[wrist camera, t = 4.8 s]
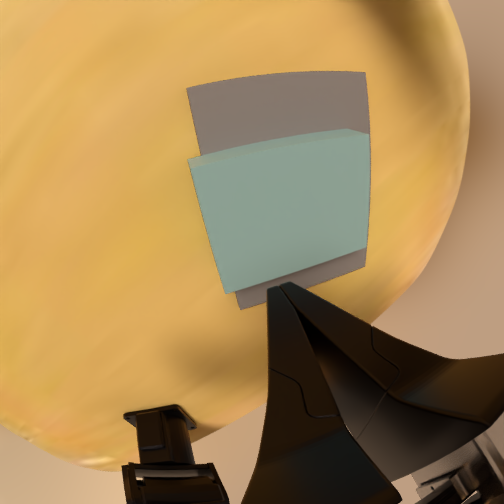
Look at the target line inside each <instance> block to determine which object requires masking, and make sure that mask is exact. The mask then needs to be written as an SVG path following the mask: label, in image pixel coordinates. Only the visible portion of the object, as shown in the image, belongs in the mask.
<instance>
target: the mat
mask: <svg viewBox="0 0 504 504" xmlns="http://www.w3.org/2000/svg"><path fill="white" fill-rule="evenodd" d="M186 89H187V94H188V98H189V103H190V108H191V112H192V117H193V122H194V126H195V131H196V135H197V140H198V144H199V149H200V153H201V156H202V155H206V154H210V153H214V152H218V151H222V150H226V149H230V148H234V147H239V146H243V145H248V144H253V143H258V142H263V141H268V140H273V139H278V138H284V137H290V136H296V135H302V134H309V133H316V132H323V131H331V130H340V129H351V130H355V131H359V132H362V133H366V134H369V143H370V121H369V105H368V93H367V83H366V74H365V72H349V71H309V72H289V73H276V74H266V75H257V76H249V77H242V78H235V79H229V80H223V81H218V82H212V83H207V84H203V85H198V86H193V87H189V88H186ZM370 183H371V148H370ZM369 211H370V194H369ZM368 227H369V218H368ZM367 240H368V233H367ZM366 251H367V246H366V248H363V249H360V250H357V251H354V252H352V253H349V254H346V255H343V256H340V257H337V258H334V259H332V260H329V261H326V262H323V263H320V264H317V265H314V266H311V267H308V268H305V269H302V270H299V271H296V272H293V273H290V274H287V275H284V276H281V277H278V278H275V279H272V280H269V281H266V282H263V283H259V284H256V285H253V286H250V287H247V288H244V289H240V290H237V291H235V293H236V297H237V301H238V304H239V308H240V310H242V309H245V308H249V307H252V306H255V305H258V304H261V303H264V302H267V299H266V290H267V288H270V287H273V286H276V285H277V286H279V285H280V284H282V283H285V282H288V281H291V282H293V283H295V284H297V285H299V286H300V287H302V288H304V289H305V288H308V287H311V286H314V285H317V284H319V283H322V282H325V281H328V280H330V279H333V278H336V277H339V276H341V275H344V274H347V273H349V272H352V271H354V270H357V269H360V268H362V267H365V261H366Z"/></svg>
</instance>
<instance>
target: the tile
mask: <svg viewBox="0 0 504 504" xmlns="http://www.w3.org/2000/svg"><path fill="white" fill-rule="evenodd" d="M188 163H189V167H190V171H191V175H192V179H193V183H194V187H195V190H196V194H197V198H198V202H199V205H200V209H201V213H202V217H203V220H204V224H205V227H206V231H207V234H208V238H209V242H210V245H211V249H212V252H213V255H214V259H215V262H216V266H217V269H218V272H219V276H220V279H221V282H222V285H223V288H224V291H225V294H228V293H231V292H234V291H237V290H240V289H244V288H247V287H250V286H253V285H256V284H259V283H263V282H266V281H269V280H272V279H275V278H278V277H281V276H284V275H287V274H290V273H293V272H296V271H299V270H302V269H305V268H308V267H311V266H314V265H317V264H320V263H323V262H326V261H329V260H332V259H334V258H337V257H340V256H343V255H346V254H349V253H352V252H354V251H357V250H360V249H363V248H366V246H367V233H368V218H369V194H370V143H369V134H366V133H362V132H359V131H355V130H351V129H340V130H331V131H323V132H316V133H309V134H302V135H296V136H290V137H284V138H278V139H273V140H268V141H263V142H258V143H253V144H248V145H243V146H239V147H234V148H230V149H226V150H222V151H218V152H214V153H210V154H206V155H202V156H198V157H195V158H191V159H188Z"/></svg>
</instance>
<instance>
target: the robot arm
mask: <svg viewBox="0 0 504 504" xmlns="http://www.w3.org/2000/svg"><path fill="white" fill-rule="evenodd" d="M266 299H267V340H268V397H267V406H266V413H265V420H264V426H263V432H262V438H261V443H260V450H259V454H258V458H257V463H256V466H255V469H254V472H253V474H252V477H251V480H250V482H249V485H248V487H247V490H246V492H245V495H244V497H243V500H242V502H241V504H398V503H400V502H401V501H402V498H401V495H400V494H399V492H398V491H397V489H396V488H395V487H394V486H393V485H392V483H391V482H392V481H395V480H397V479H399V478H402V477H404V476H406V475H409V474H411V475H412V477H413V478H414V480H415V482H416V484H417V485H418V488H417V489H416V491H417V493H418V494H419V497H420V498H421V500H420V501H418V502H417V503H415V504H461V503H463V502H464V501H465V500H466V499H467V498H468V497H469V496H470V495H472V494H473V493H474V492H475V491H477V492H478V493H476V494H474V495H473V496H471V497H470V498H469V499H467V500H466V501H465V502H464V503H463V504H504V353H503V354H498V355H491V356H484V357H477V358H468V359H449V358H445V357H442V356H439V355H437V354H434V353H432V352H429V351H427V350H424V349H422V348H419V347H416V346H414V345H411V344H409V343H407V342H404V341H402V340H400V339H397V338H395V337H393V336H391V335H389V334H387V333H385V332H383V331H381V330H379V329H378V328H376V327H374V326H373V327H372V326H371V325H370V324H368V323H366V322H365V321H363V320H361V319H359V318H357V317H355V316H353V315H352V314H350V313H348V312H346V311H344V310H342V309H341V308H339V307H337V306H335V305H333V304H331V303H330V302H328V301H326V300H324V299H322V298H320V297H319V296H317V295H315V294H313V293H311V292H309V291H308V290H306V289H304V288H302V287H300V286H299V285H297V284H295V283H293V282H291V281H288V282H285V283H282V284H280V285H279V286H277V285H276V286H273V287H270V288H267V290H266ZM123 417H124V419H125V420H126V421H128V422H129V423H130V424H132V425H133V426H134V427H136V430H137V441H138V449H139V457H140V464H136V463H133V462H128V465H123V466H122V474H123V482H124V489H125V496H126V502H127V504H230V503H229V498H228V495H227V493H226V490H225V488H224V486H223V484H222V482H221V480H220V478H219V476H218V473H217V471H216V469H215V467H214V464H213V463H207V464H195V461H194V456H193V452H192V447H191V443H190V438H189V433H188V430H192V429H196V428H197V427H196V424H195V423H194V422H193V421H192V420H191V419H190V418H189V417H188V416H187V415H186V414H185V413H184V412H183V411H182V410H181V409H180V407H179V406H176V405H172V406H167V407H162V408H156V409H151V410H145V411H139V412H132V413H125V414H124V415H123ZM345 424H346V425H345ZM346 426H347V427H348V429H349V430H348V429H347V427H346ZM349 431H350V432H351V433H350V432H349ZM351 434H352V435H351ZM136 477H140V478H143V480H136Z"/></svg>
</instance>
